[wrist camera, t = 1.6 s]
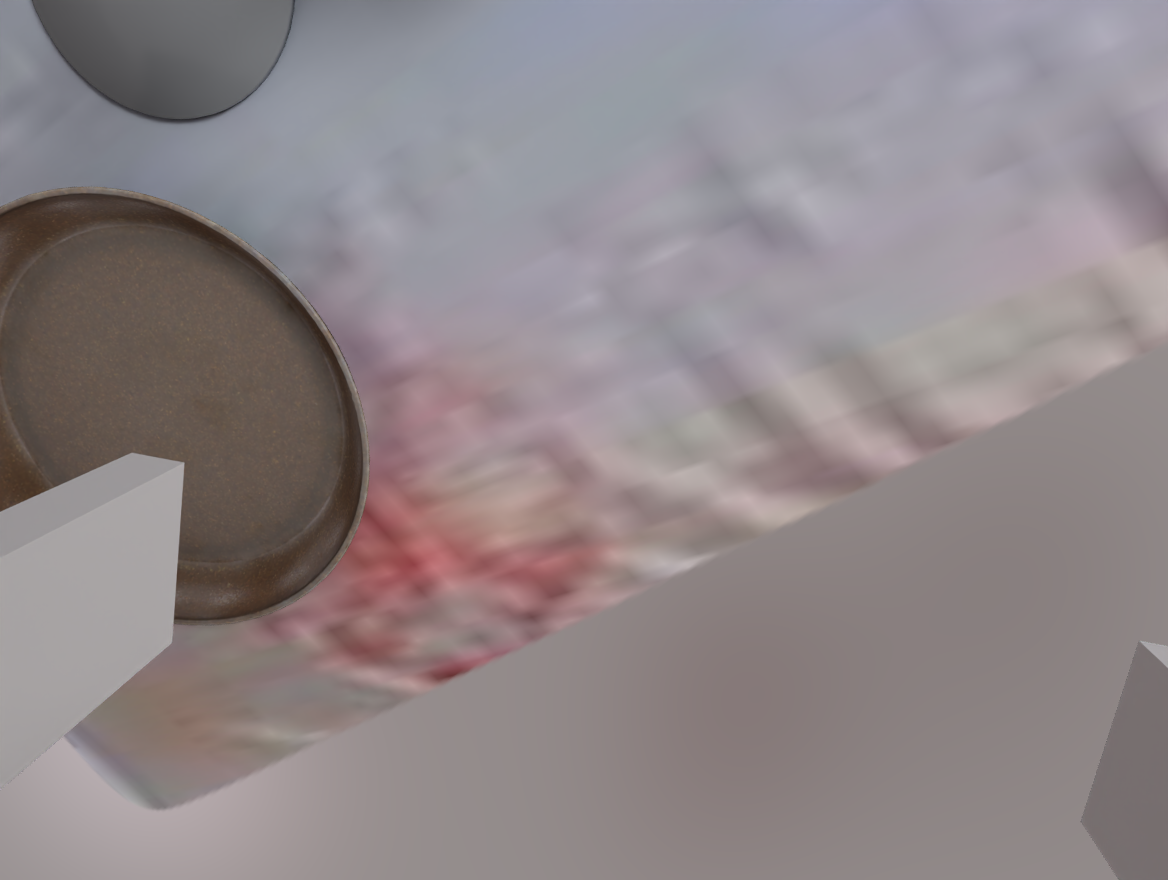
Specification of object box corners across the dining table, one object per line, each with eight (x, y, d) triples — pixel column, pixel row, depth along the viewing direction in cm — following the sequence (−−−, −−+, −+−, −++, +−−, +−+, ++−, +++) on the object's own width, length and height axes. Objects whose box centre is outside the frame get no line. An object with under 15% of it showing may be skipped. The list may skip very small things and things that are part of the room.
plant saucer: (484, 413, 44) (463, 444, 41) (232, 661, 52) (199, 702, 49) (109, 65, 40) (57, 72, 37) (-97, 390, 49) (-154, 416, 46)
